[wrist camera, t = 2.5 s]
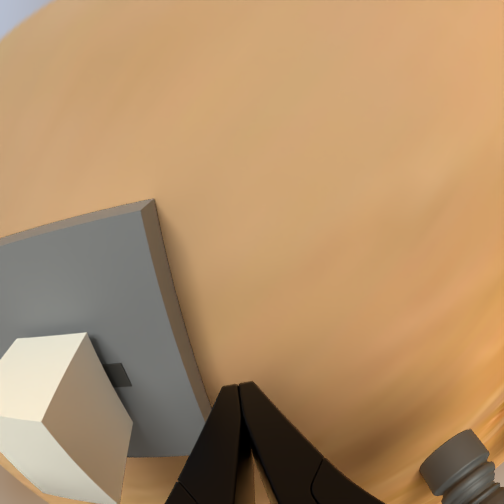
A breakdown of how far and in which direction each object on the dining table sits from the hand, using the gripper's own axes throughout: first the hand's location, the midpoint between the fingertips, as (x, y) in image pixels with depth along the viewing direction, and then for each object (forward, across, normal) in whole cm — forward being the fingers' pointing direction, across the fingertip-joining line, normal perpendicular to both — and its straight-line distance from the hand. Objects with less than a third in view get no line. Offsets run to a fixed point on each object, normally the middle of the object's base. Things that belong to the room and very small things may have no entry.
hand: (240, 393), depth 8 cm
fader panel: (+4, +10, 0) cm, 11 cm away
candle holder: (+4, -16, +20) cm, 26 cm away
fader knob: (+1, +6, 0) cm, 6 cm away
